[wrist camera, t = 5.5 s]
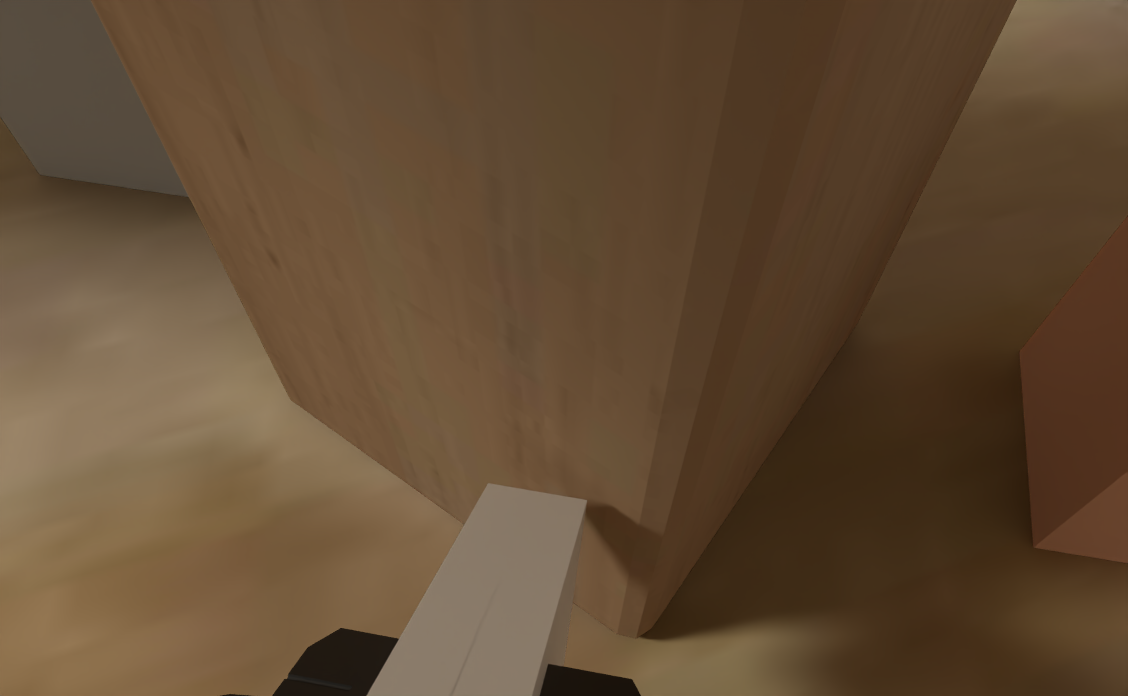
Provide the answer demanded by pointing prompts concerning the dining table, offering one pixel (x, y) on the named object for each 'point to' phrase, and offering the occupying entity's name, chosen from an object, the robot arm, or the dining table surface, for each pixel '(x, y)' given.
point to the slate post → (76, 99)
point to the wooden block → (558, 228)
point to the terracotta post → (1081, 412)
